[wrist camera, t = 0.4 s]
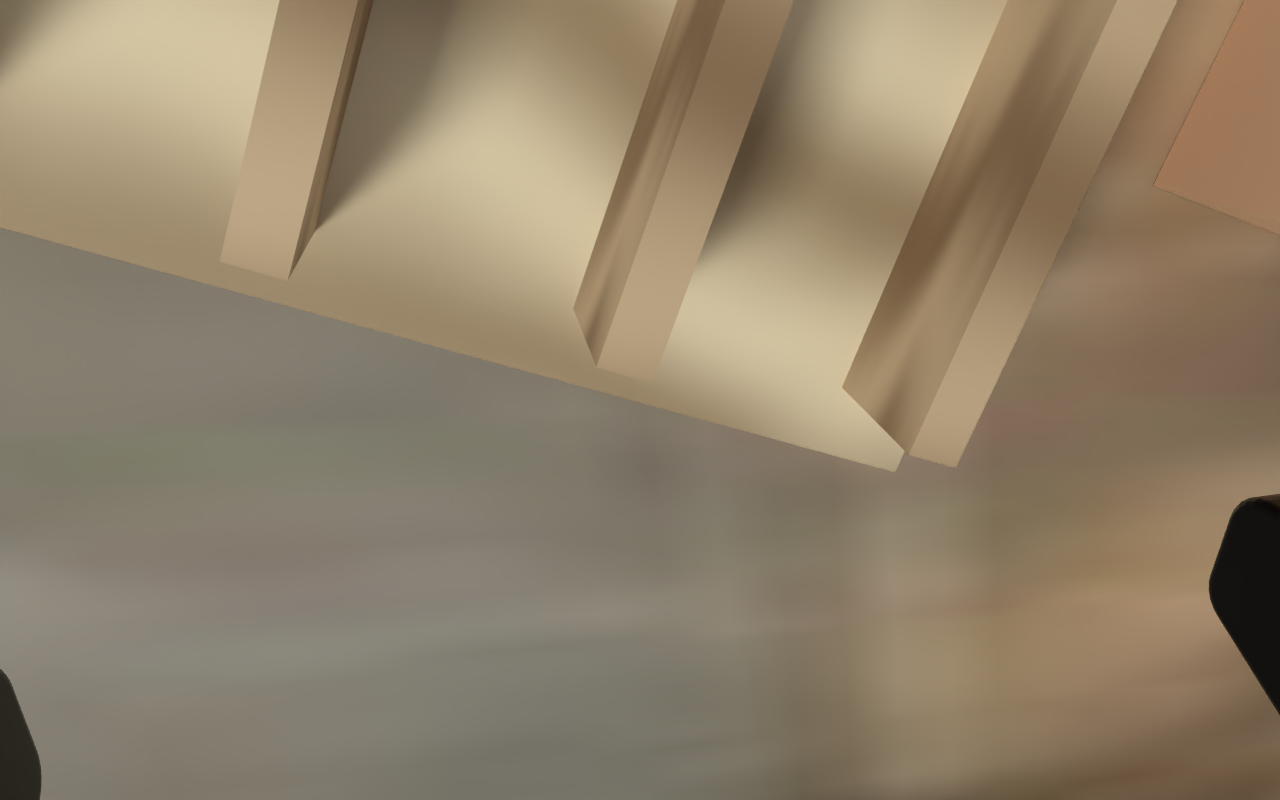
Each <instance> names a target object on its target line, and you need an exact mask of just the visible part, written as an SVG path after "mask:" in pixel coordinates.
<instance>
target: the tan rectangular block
mask: <svg viewBox="0 0 1280 800" xmlns="http://www.w3.org/2000/svg"><path fill="white" fill-rule="evenodd" d="M1153 186H1155V187H1158V188H1160V189H1163V190H1165V191H1168V192H1171V193H1173V194H1176V195H1178V196H1181V197H1183V198H1186V199H1189V200H1191V201H1194V202H1196V203H1199V204H1201V205H1204V206H1207V207H1209V208H1212V209H1214V210H1217V211H1219V212H1222V213H1225V214H1227V215H1230V216H1232V217H1235V218H1237V219H1240V220H1243V221H1245V222H1248V223H1250V224H1253V225H1255V226H1258V227H1261V228H1263V229H1266V230H1268V231H1271V232H1273V233H1276V234H1279V235H1280V0H1244V2H1243V4H1242V6H1241V8H1240V10H1239V12H1238V14H1237V16H1236V18H1235V20H1234V22H1233V24H1232V26H1231V28H1230V30H1229V32H1228V34H1227V36H1226V38H1225V40H1224V42H1223V44H1222V46H1221V49H1220V51H1219V53H1218V55H1217V57H1216V59H1215V61H1214V63H1213V65H1212V67H1211V69H1210V71H1209V73H1208V75H1207V77H1206V79H1205V81H1204V83H1203V85H1202V87H1201V89H1200V91H1199V93H1198V95H1197V97H1196V99H1195V101H1194V103H1193V105H1192V107H1191V109H1190V111H1189V113H1188V115H1187V118H1186V120H1185V122H1184V124H1183V126H1182V128H1181V130H1180V132H1179V134H1178V136H1177V138H1176V140H1175V142H1174V144H1173V146H1172V148H1171V150H1170V152H1169V154H1168V156H1167V158H1166V160H1165V162H1164V164H1163V166H1162V168H1161V170H1160V172H1159V174H1158V176H1157V178H1156V180H1155V182H1154V184H1153Z"/></svg>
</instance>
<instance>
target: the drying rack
mask: <svg viewBox="0 0 1280 800" xmlns="http://www.w3.org/2000/svg"><path fill="white" fill-rule="evenodd" d="M1177 1H1178V0H0V227H1V228H5V229H8V230H12V231H16V232H19V233H23V234H27V235H30V236H34V237H38V238H41V239H45V240H49V241H52V242H56V243H59V244H63V245H67V246H70V247H74V248H78V249H81V250H85V251H89V252H92V253H96V254H100V255H103V256H107V257H111V258H114V259H118V260H122V261H125V262H129V263H133V264H136V265H140V266H143V267H147V268H151V269H154V270H158V271H162V272H165V273H169V274H173V275H176V276H180V277H184V278H187V279H191V280H195V281H198V282H202V283H206V284H209V285H213V286H217V287H220V288H224V289H227V290H231V291H235V292H238V293H242V294H246V295H249V296H253V297H257V298H260V299H264V300H268V301H271V302H275V303H279V304H282V305H286V306H290V307H293V308H297V309H301V310H304V311H308V312H311V313H315V314H319V315H322V316H326V317H330V318H333V319H337V320H341V321H344V322H348V323H352V324H355V325H359V326H363V327H366V328H370V329H374V330H377V331H381V332H385V333H388V334H392V335H395V336H399V337H403V338H406V339H410V340H414V341H417V342H421V343H425V344H428V345H432V346H436V347H439V348H443V349H447V350H450V351H454V352H458V353H461V354H465V355H469V356H472V357H476V358H479V359H483V360H487V361H490V362H494V363H498V364H501V365H505V366H509V367H512V368H516V369H520V370H523V371H527V372H531V373H534V374H538V375H542V376H545V377H549V378H553V379H556V380H560V381H563V382H567V383H571V384H574V385H578V386H582V387H585V388H589V389H593V390H596V391H600V392H604V393H607V394H611V395H615V396H618V397H622V398H626V399H629V400H633V401H637V402H640V403H644V404H647V405H651V406H655V407H658V408H662V409H666V410H669V411H673V412H677V413H680V414H684V415H688V416H691V417H695V418H699V419H702V420H706V421H710V422H713V423H717V424H721V425H724V426H728V427H731V428H735V429H739V430H742V431H746V432H750V433H753V434H757V435H761V436H764V437H768V438H772V439H775V440H779V441H783V442H786V443H790V444H794V445H797V446H801V447H805V448H808V449H812V450H815V451H819V452H823V453H826V454H830V455H834V456H837V457H841V458H845V459H848V460H852V461H856V462H859V463H863V464H867V465H870V466H874V467H878V468H881V469H885V470H889V471H892V472H895V471H896V469H897V467H898V465H899V462H900V460H901V458H902V456H903V454H904V451H905V452H906V453H907V454H908V455H911V456H915V457H918V458H922V459H925V460H929V461H933V462H936V463H940V464H943V465H947V466H950V467H954V468H956V466H957V464H958V462H959V460H960V458H961V456H962V453H963V451H964V449H965V447H966V445H967V443H968V441H969V439H970V437H971V435H972V432H973V430H974V428H975V426H976V424H977V422H978V420H979V418H980V416H981V413H982V411H983V409H984V407H985V405H986V403H987V401H988V399H989V397H990V395H991V392H992V390H993V388H994V386H995V384H996V382H997V380H998V378H999V376H1000V373H1001V371H1002V369H1003V367H1004V365H1005V363H1006V361H1007V359H1008V357H1009V355H1010V352H1011V350H1012V348H1013V346H1014V344H1015V342H1016V340H1017V338H1018V336H1019V333H1020V331H1021V329H1022V327H1023V325H1024V323H1025V321H1026V319H1027V317H1028V315H1029V312H1030V310H1031V308H1032V306H1033V304H1034V302H1035V300H1036V298H1037V296H1038V293H1039V291H1040V289H1041V287H1042V285H1043V283H1044V281H1045V279H1046V277H1047V275H1048V272H1049V270H1050V268H1051V266H1052V264H1053V262H1054V260H1055V258H1056V256H1057V253H1058V251H1059V249H1060V247H1061V245H1062V243H1063V241H1064V239H1065V237H1066V235H1067V232H1068V230H1069V228H1070V226H1071V224H1072V222H1073V220H1074V218H1075V216H1076V213H1077V211H1078V209H1079V207H1080V205H1081V203H1082V201H1083V199H1084V197H1085V195H1086V192H1087V190H1088V188H1089V186H1090V184H1091V182H1092V180H1093V178H1094V176H1095V173H1096V171H1097V169H1098V167H1099V165H1100V163H1101V161H1102V159H1103V157H1104V155H1105V152H1106V150H1107V148H1108V146H1109V144H1110V142H1111V140H1112V138H1113V136H1114V133H1115V131H1116V129H1117V127H1118V125H1119V123H1120V121H1121V119H1122V117H1123V115H1124V112H1125V110H1126V108H1127V106H1128V104H1129V102H1130V100H1131V98H1132V96H1133V93H1134V91H1135V89H1136V87H1137V85H1138V83H1139V81H1140V79H1141V77H1142V75H1143V72H1144V70H1145V68H1146V66H1147V64H1148V62H1149V60H1150V58H1151V56H1152V53H1153V51H1154V49H1155V47H1156V45H1157V43H1158V41H1159V39H1160V37H1161V35H1162V32H1163V30H1164V28H1165V26H1166V24H1167V22H1168V20H1169V18H1170V16H1171V14H1172V11H1173V9H1174V7H1175V5H1176V3H1177Z"/></svg>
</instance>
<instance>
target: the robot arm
mask: <svg viewBox="0 0 1280 800" xmlns="http://www.w3.org/2000/svg"><path fill="white" fill-rule="evenodd" d="M1209 594H1210V600H1211V603H1212V606H1213V608H1214V610H1215V612H1216V614H1217V616H1218V617H1219V619H1220V620H1221V622H1222V624H1223V625H1224V627H1225V628H1226V630H1227V632H1228V633H1229V635H1230V636H1231V638H1232V640H1233V641H1234V643H1235V644H1236V646H1237V648H1238V649H1239V651H1240V652H1241V654H1242V656H1243V657H1244V659H1245V660H1246V662H1247V664H1248V665H1249V667H1250V668H1251V670H1252V672H1253V673H1254V675H1255V676H1256V678H1257V680H1258V681H1259V683H1260V684H1261V686H1262V688H1263V689H1264V691H1265V692H1266V694H1267V696H1268V697H1269V699H1270V700H1271V702H1272V704H1273V705H1274V707H1275V708H1276V710H1277V712H1278V713H1279V715H1280V494H1275V495H1268V496H1260V497H1253V498H1249V499H1246V500H1244V501H1242V502H1241V503H1240V504H1239V505H1238V506H1237V507H1236V508H1235V509H1234V511H1233V513H1232V515H1231V517H1230V520H1229V523H1228V526H1227V529H1226V532H1225V534H1224V537H1223V540H1222V543H1221V546H1220V549H1219V552H1218V555H1217V558H1216V561H1215V564H1214V567H1213V570H1212V572H1211V575H1210V580H1209ZM40 793H41V766H40V760H39V756H38V753H37V750H36V747H35V745H34V742H33V739H32V737H31V734H30V731H29V729H28V726H27V724H26V721H25V718H24V716H23V713H22V711H21V708H20V705H19V703H18V700H17V697H16V695H15V692H14V690H13V687H12V684H11V682H10V680H9V679H8V677H7V675H6V674H5V673H4V672H3V671H2V670H1V669H0V800H40Z"/></svg>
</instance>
